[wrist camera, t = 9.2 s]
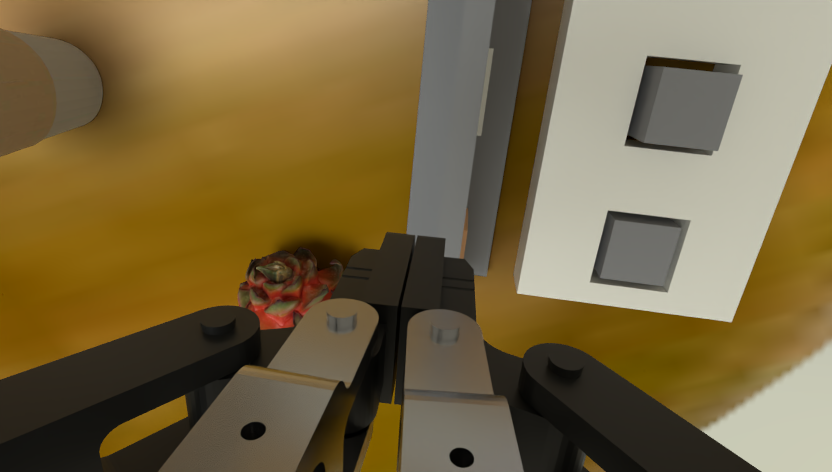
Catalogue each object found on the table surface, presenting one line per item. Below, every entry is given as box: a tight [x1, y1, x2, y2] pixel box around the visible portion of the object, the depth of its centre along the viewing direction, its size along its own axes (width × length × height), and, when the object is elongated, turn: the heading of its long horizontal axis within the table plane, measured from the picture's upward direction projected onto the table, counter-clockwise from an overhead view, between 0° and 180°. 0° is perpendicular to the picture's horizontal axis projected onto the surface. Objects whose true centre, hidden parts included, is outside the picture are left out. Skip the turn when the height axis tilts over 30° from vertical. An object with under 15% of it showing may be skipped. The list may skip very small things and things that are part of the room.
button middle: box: [628, 66, 743, 151], centre depth 27 cm, size 4×4×3 cm
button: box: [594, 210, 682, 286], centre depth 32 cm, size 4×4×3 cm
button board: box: [513, 0, 832, 322], centre depth 29 cm, size 26×14×3 cm, turn 175°
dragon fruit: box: [238, 247, 343, 330], centre depth 34 cm, size 8×8×12 cm
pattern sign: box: [407, 0, 532, 276], centre depth 26 cm, size 26×6×11 cm, turn 175°
